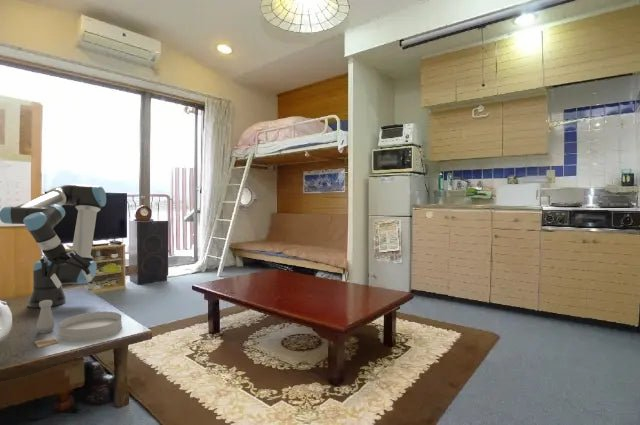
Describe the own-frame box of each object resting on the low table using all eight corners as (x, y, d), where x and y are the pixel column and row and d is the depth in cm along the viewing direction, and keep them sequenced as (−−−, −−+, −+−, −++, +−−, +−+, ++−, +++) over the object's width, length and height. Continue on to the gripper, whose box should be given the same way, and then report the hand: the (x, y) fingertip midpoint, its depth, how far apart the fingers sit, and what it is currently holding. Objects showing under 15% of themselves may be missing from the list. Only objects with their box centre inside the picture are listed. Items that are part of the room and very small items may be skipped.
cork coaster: (34, 343, 129) (34, 341, 129) (54, 338, 134) (54, 337, 133) (38, 347, 125) (38, 346, 125) (58, 343, 130) (58, 341, 130)
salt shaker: (50, 328, 144) (51, 297, 144) (56, 331, 141) (57, 300, 141) (33, 332, 139) (34, 300, 139) (39, 335, 136) (40, 303, 136)
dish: (90, 320, 156) (90, 309, 155) (133, 324, 152) (133, 313, 152) (43, 338, 134) (44, 326, 134) (92, 344, 130) (93, 332, 130)
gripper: (16, 257, 144) (42, 294, 154) (77, 244, 146) (99, 282, 156) (26, 247, 150) (51, 283, 160) (84, 235, 153) (105, 272, 163)
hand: (75, 282), depth 158 cm, fingers open, 13 cm apart
